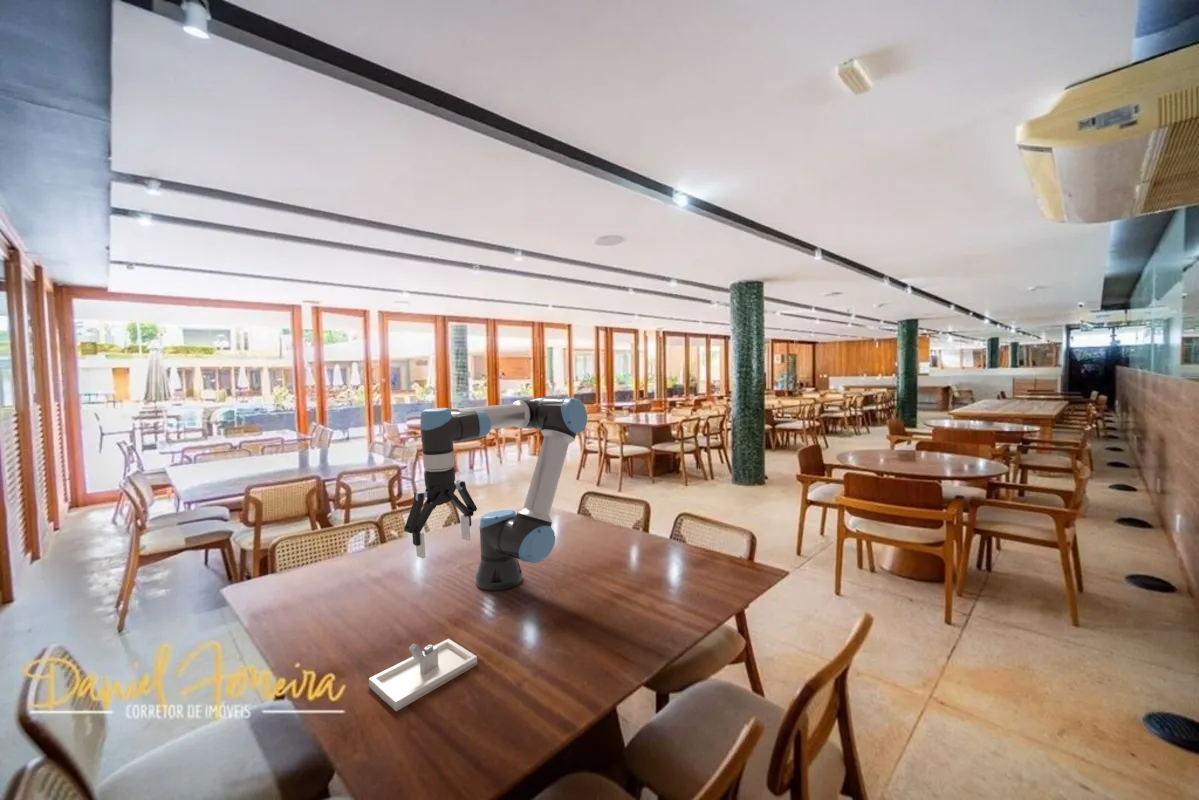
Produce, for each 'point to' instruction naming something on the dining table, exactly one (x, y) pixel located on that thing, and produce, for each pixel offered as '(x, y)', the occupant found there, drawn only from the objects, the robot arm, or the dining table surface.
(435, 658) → the lighter
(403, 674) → the tray
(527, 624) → the dining table surface
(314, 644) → the dining table surface
